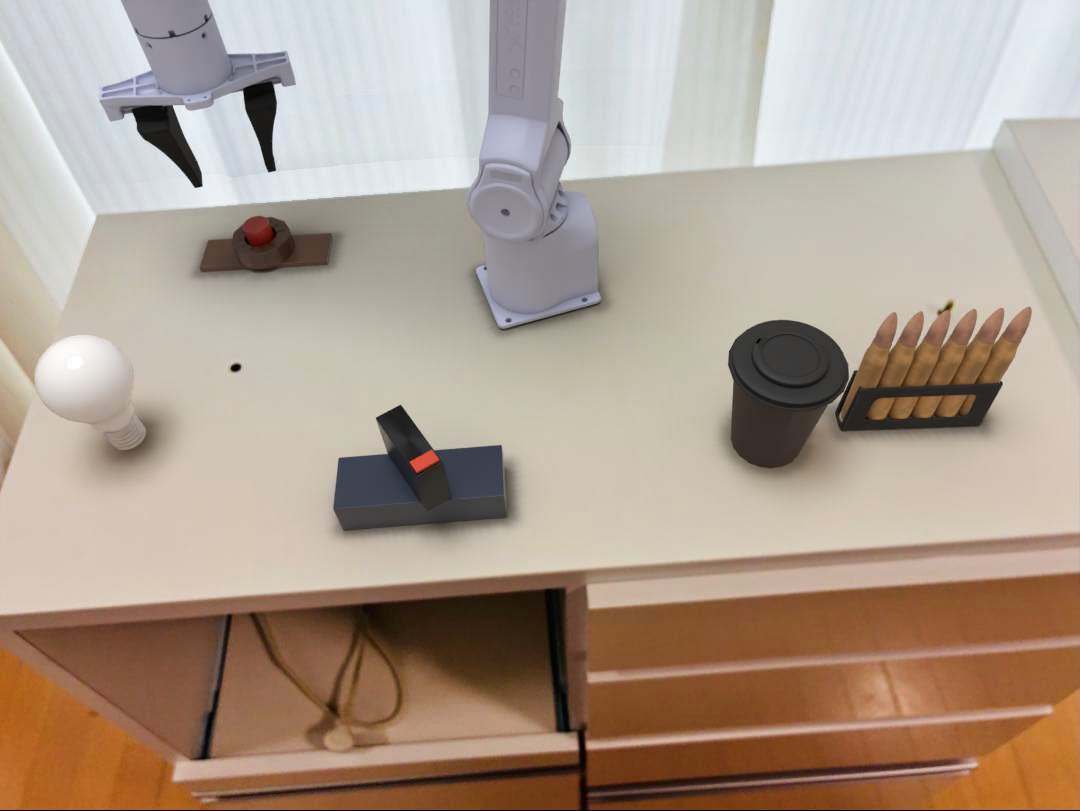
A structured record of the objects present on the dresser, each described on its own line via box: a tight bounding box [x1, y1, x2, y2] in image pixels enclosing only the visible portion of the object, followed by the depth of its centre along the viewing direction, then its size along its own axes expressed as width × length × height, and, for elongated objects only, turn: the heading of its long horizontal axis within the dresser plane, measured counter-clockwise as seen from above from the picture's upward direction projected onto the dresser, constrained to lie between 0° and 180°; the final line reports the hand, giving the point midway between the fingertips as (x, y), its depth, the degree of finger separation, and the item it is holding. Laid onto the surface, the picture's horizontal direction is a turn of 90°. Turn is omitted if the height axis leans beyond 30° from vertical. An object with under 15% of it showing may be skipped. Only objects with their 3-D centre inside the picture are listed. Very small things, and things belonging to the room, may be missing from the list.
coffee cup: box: [727, 319, 850, 469], centre depth 59 cm, size 8×8×10 cm
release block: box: [199, 216, 333, 273], centre depth 78 cm, size 12×5×2 cm, turn 92°
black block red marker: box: [375, 404, 452, 512], centre depth 57 cm, size 6×2×5 cm, turn 34°
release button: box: [242, 215, 274, 246], centre depth 77 cm, size 2×2×2 cm
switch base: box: [332, 444, 508, 531], centre depth 60 cm, size 12×4×3 cm, turn 94°
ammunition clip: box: [834, 306, 1033, 432], centre depth 59 cm, size 11×2×12 cm, turn 91°
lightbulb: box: [33, 334, 147, 451], centre depth 62 cm, size 6×6×11 cm
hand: (235, 173), depth 71 cm, fingers open, 6 cm apart
